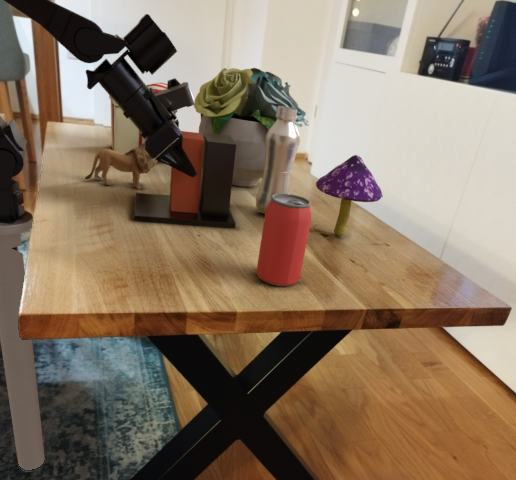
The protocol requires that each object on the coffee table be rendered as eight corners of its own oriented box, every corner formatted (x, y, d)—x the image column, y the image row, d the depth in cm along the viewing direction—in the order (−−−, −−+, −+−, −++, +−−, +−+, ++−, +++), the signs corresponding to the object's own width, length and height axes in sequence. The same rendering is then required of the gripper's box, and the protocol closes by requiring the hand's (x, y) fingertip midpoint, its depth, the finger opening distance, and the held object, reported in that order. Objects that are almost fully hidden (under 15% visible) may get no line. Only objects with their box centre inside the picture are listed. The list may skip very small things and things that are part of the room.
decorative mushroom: (300, 238, 94) (317, 153, 86) (312, 220, 104) (328, 143, 96) (367, 253, 92) (390, 168, 84) (372, 233, 102) (393, 156, 94)
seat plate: (134, 221, 89) (135, 136, 82) (135, 197, 100) (136, 121, 93) (235, 228, 93) (245, 148, 86) (225, 205, 104) (233, 133, 97)
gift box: (161, 146, 144) (163, 78, 135) (179, 163, 130) (183, 89, 121) (98, 142, 137) (97, 71, 128) (111, 160, 123) (110, 80, 114)
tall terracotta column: (170, 211, 93) (174, 136, 86) (169, 201, 98) (173, 130, 91) (197, 213, 94) (203, 139, 87) (195, 203, 99) (201, 133, 92)
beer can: (285, 292, 72) (301, 210, 66) (247, 277, 75) (258, 196, 69) (306, 279, 78) (322, 201, 71) (269, 265, 80) (282, 189, 74)
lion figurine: (156, 183, 111) (158, 140, 106) (158, 190, 106) (159, 145, 102) (85, 178, 107) (84, 132, 102) (84, 185, 102) (82, 138, 98)
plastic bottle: (257, 206, 107) (272, 103, 96) (289, 213, 106) (307, 109, 96) (251, 215, 101) (266, 106, 91) (284, 221, 100) (303, 112, 90)
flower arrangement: (253, 168, 137) (267, 66, 124) (310, 196, 120) (332, 81, 107) (169, 168, 124) (174, 54, 111) (219, 200, 107) (232, 69, 94)
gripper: (170, 65, 75) (234, 151, 83) (166, 57, 90) (220, 130, 99) (115, 116, 77) (183, 194, 86) (120, 99, 93) (177, 167, 101)
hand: (193, 169), depth 93 cm, fingers open, 9 cm apart
